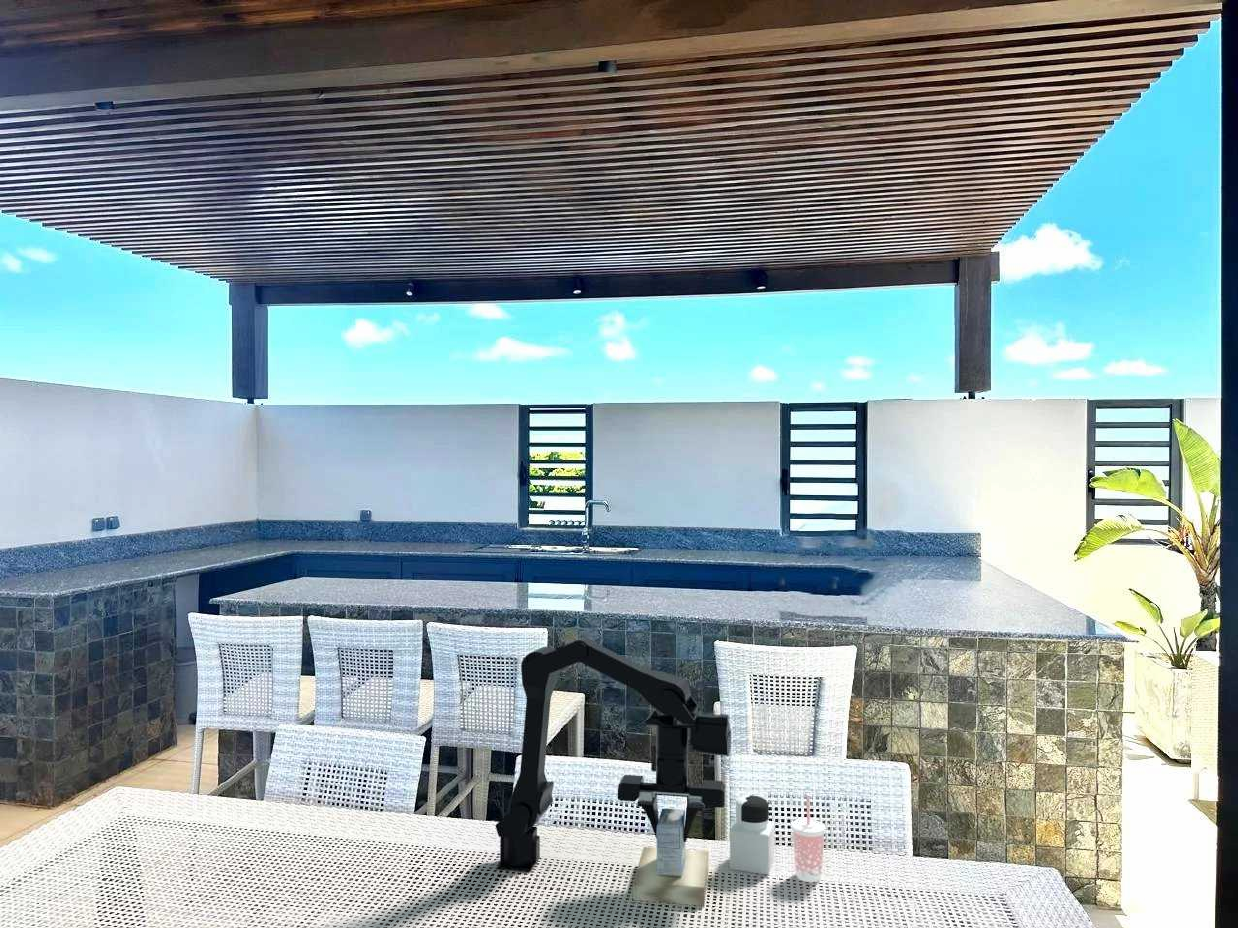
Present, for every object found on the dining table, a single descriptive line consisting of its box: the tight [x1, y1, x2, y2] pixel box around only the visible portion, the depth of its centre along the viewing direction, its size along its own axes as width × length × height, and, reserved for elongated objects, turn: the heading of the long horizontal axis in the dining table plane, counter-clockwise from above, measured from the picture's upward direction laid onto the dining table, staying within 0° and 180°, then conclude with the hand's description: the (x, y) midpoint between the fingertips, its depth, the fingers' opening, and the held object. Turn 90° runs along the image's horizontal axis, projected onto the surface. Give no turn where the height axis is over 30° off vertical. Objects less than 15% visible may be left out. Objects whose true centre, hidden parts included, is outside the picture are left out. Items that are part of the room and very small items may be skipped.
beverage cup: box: [790, 796, 827, 883], centre depth 144 cm, size 6×6×14 cm
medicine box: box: [656, 808, 686, 877], centre depth 141 cm, size 8×4×9 cm, turn 171°
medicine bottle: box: [729, 794, 775, 875], centre depth 149 cm, size 7×7×12 cm
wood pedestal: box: [632, 846, 709, 907], centre depth 141 cm, size 12×14×3 cm
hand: (671, 839), depth 141 cm, fingers closed on medicine box, 4 cm apart
